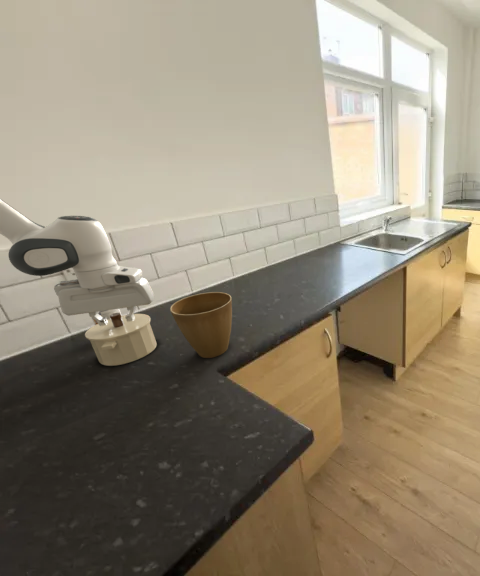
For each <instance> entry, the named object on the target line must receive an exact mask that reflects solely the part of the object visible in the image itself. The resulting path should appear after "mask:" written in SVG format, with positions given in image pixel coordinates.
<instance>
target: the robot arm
mask: <svg viewBox="0 0 480 576" xmlns="http://www.w3.org/2000/svg"><path fill="white" fill-rule="evenodd" d="M0 235H2V236H4V238H6V239H7V240H9V242H10V243H11V244H12V245H11V246H10V247H9V250H8V259H9V262H10V264H11V266H13V267H14V268H15V269H16V270H18V271H19V272H21V273H23V274H26V275H29V276H37V277H44V276H50V275H53V274H57V273H60V272H63V271H66V270H69V269H72V270H73V272H74V274H75V277H76V279H71V280H62V281H58V283H56V284H55V285H54V287H53V291H54V293H55V295H56V296H57V297H58V304H59V306H60V309H61V312H62V314H64V315H66V316H68V317H69V316H75V315H76V316H77V315H84V314H88V316H89V317H90V318H91V319H92V318H93V319H95V320H96V321H97V322H98V324H99V326H103V325H107V324H108V321H107V318H106V317H105V318H103V317H101V316H100V315H99V314H98V313H99V311H106V310H113V309H119V310H121V309H126V310H127V312H129V313H127V314H126V315H127V316H125V318H126V319H127V322H130V321H134V320H135V316H134V314H135V312H136V309H137V307H140V306H141V307H142V306H148V305H151V303H152V302H153V301H154V299H155V293H154V291H153V289H152V287H151V285H150V283H149V281H148V280H147V279H146V278H145V277H143V271H142V269H141V268H137V267H130V266H124V265H119V264H118V261H117V260H116V259H115V257H114V256H113V248H112V245H111V242H110V238H109V237H108V234H107V232H106V230H105V229H104V226H103V225H102V223H101V222H100V221H99V220H97V219H95V218H93V217H91V216H85V215H62V216H58V217H57V218H56V219H55V220H54V221H53V222H51V223H49V224H48V225H46V226H44V225H41V224H39V223H37V222H34V221H33V220H31V219H30V218H29V217H27V216H26V215H24V214H23V213H21V212H20V211H18V210H17V209H16V208H14V207H13V206H11V205H10V204H8V202H6V201H4V200H3V199H2V198H0Z"/></svg>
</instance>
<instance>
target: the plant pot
mask: <svg viewBox="0 0 480 576" xmlns="http://www.w3.org/2000/svg"><path fill="white" fill-rule="evenodd" d="M169 311H170V313H171V315H172V317H173V319H174V321H175V323H176V325H177V327H178V329H179V330H180V332H181V333H182V335H183V336H184V338H185V340H186V341H187V342H188V343H189V345H190V346H191V347H192V349H193V350H194V351H195V352H196V353H197V354H198V356H199V357H200V358H203V359H212V358H216V357H219V356H221V355H223V354H224V353H226V352H227V351H228V348H229V345H230V338H231V332H232V321H233V301H232V296H231V295H230V294H229V293H226V292H220V291H211V292H202V293H197V294H193V295H189V296H187V297H186V296H185V297H183V298H181V299H179V300H177V301H175V302H174V303H173V304H171V305H170V307H169Z"/></svg>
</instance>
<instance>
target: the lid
mask: <svg viewBox="0 0 480 576" xmlns="http://www.w3.org/2000/svg"><path fill="white" fill-rule="evenodd" d="M121 315H122V313H121V314H120V313H114V314H111V315H110V319H109V320H107V321H108V324H107V325H103V326H99V324H97V325H95V324H94V325H93V326H92V327H91V326H90V328H88V329H87V330H86V332H85V333H84V337H85V339H86V340H88V341H90V340H91V341H105V340H111V339H116V338H120V337H123V336H127V335H129V334H132V333H134V332H137V331H139V330H141V329H142V328H144V327H146V326H147V325H148V324H149V323H150V324H151V321H152V318H151V316H149V315H148V314H144V313H134V316H135V320H134V321H130V322H127V319H126V318H125V316H127V314H123V315H122V316H121Z"/></svg>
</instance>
